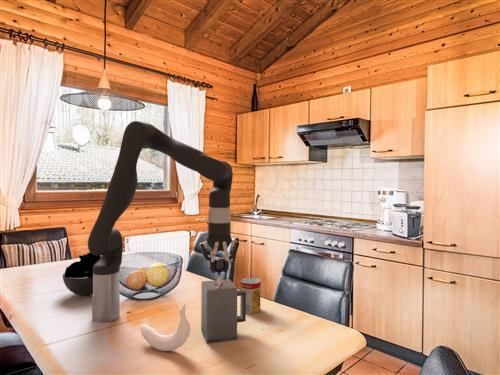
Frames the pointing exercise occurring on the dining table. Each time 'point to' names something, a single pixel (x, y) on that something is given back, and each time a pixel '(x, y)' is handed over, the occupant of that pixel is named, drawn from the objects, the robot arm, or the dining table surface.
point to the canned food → (251, 294)
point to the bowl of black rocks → (81, 275)
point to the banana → (170, 340)
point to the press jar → (221, 310)
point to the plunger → (219, 269)
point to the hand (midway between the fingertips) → (219, 271)
